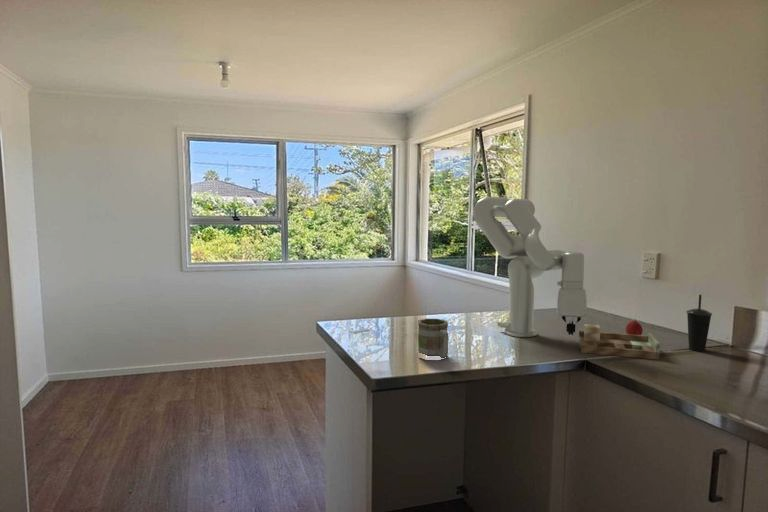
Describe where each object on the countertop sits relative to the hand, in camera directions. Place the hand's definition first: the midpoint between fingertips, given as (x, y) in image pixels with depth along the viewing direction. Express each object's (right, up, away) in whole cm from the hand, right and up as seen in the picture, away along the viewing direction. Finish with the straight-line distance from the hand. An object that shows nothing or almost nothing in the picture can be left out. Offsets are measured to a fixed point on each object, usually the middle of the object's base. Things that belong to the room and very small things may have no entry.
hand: (570, 333), depth 175 cm
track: (+13, -5, -7) cm, 16 cm away
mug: (-52, -6, -16) cm, 55 cm away
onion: (+27, -4, +7) cm, 28 cm away
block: (+7, -2, -2) cm, 7 cm away
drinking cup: (+43, -5, -6) cm, 44 cm away
